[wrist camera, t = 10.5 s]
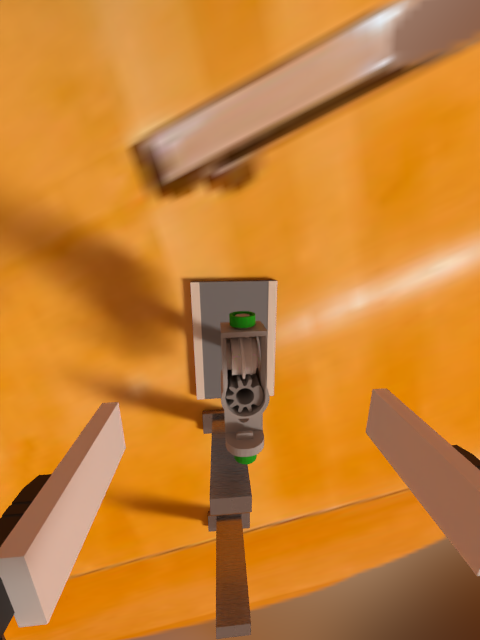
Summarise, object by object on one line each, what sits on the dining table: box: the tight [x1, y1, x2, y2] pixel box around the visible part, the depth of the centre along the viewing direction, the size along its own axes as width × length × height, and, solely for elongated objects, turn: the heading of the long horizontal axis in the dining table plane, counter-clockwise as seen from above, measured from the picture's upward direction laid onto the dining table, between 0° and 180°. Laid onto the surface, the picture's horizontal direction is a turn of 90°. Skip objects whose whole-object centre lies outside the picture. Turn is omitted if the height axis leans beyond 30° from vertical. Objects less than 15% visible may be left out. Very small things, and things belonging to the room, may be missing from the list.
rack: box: [203, 410, 252, 639], centre depth 26 cm, size 16×5×10 cm, turn 1°
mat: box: [190, 280, 277, 399], centre depth 26 cm, size 12×8×1 cm, turn 1°
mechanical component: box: [220, 311, 269, 464], centre depth 21 cm, size 3×10×10 cm, turn 2°
